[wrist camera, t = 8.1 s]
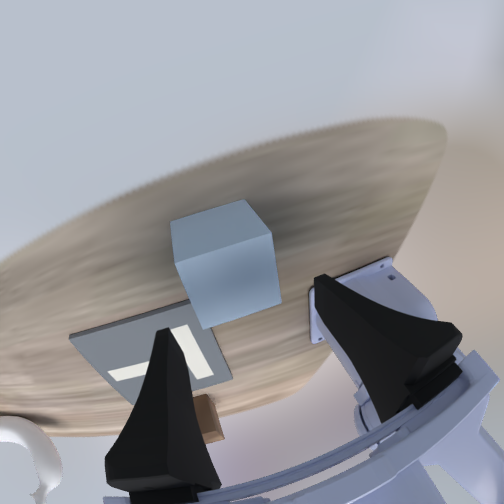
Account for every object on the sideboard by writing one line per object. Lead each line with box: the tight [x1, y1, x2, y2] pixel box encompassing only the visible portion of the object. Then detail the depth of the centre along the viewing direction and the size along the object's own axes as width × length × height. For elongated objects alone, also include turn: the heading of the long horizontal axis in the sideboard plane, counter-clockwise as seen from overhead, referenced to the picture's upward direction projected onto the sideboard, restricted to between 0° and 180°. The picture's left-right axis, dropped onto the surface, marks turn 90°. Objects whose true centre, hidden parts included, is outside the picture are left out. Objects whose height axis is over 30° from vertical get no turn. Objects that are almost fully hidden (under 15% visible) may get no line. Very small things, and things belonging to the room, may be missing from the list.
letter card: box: [69, 299, 233, 405], centre depth 23 cm, size 12×12×1 cm
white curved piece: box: [0, 416, 63, 504], centre depth 16 cm, size 5×19×15 cm, turn 93°
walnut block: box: [193, 394, 225, 444], centre depth 27 cm, size 5×5×4 cm
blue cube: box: [170, 199, 282, 330], centre depth 17 cm, size 5×5×5 cm
